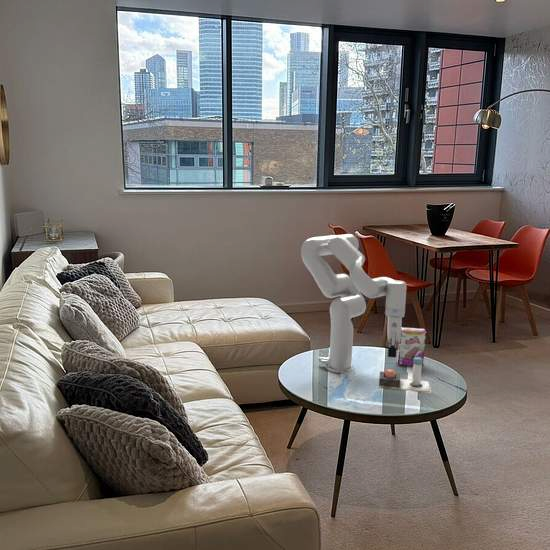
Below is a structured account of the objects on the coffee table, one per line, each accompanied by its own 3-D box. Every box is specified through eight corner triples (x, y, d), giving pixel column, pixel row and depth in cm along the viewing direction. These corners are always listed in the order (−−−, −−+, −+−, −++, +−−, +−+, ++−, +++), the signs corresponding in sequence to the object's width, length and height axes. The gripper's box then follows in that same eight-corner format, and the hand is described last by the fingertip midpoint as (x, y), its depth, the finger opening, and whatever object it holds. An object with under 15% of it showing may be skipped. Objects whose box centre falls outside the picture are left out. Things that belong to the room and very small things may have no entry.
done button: (384, 380, 232) (385, 372, 231) (384, 376, 236) (385, 368, 235) (394, 381, 231) (395, 373, 230) (394, 377, 235) (395, 369, 234)
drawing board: (378, 389, 229) (379, 380, 228) (379, 378, 241) (380, 369, 240) (431, 395, 225) (432, 385, 224) (429, 383, 237) (429, 374, 236)
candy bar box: (397, 365, 257) (400, 330, 254) (396, 361, 262) (399, 326, 258) (423, 367, 256) (426, 331, 253) (421, 363, 261) (424, 328, 257)
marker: (411, 385, 230) (414, 359, 228) (411, 382, 234) (413, 356, 232) (420, 386, 230) (422, 360, 228) (420, 383, 233) (422, 357, 231)
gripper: (405, 317, 220) (401, 363, 223) (404, 308, 234) (401, 351, 238) (385, 315, 221) (382, 361, 225) (385, 306, 236) (382, 349, 239)
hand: (391, 356), depth 231 cm, fingers closed
